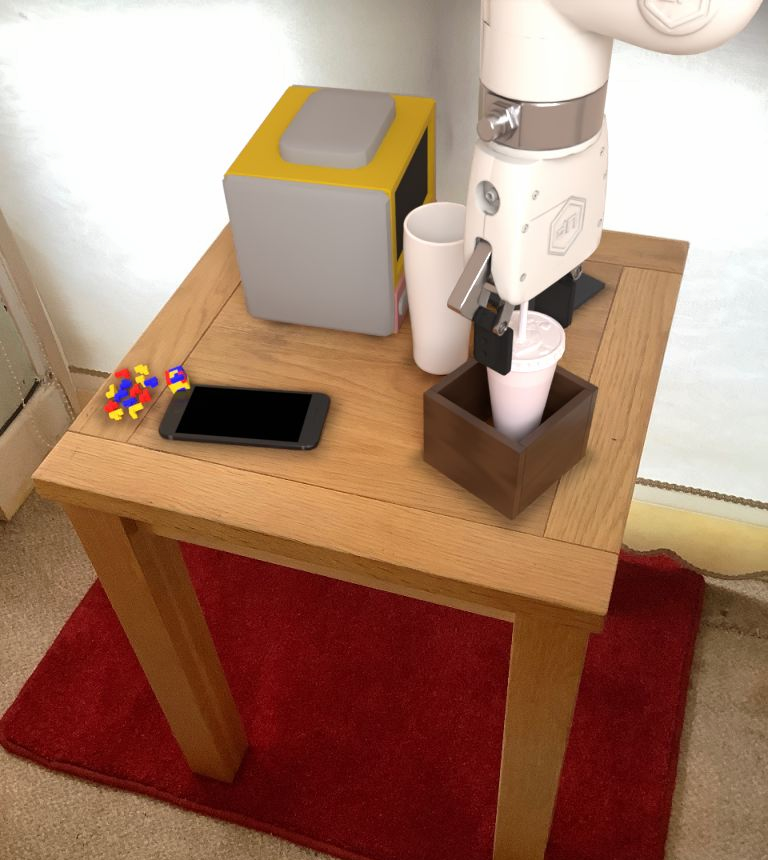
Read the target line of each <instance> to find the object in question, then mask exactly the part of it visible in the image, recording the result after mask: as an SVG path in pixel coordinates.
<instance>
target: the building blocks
mask: <svg viewBox="0 0 768 860" xmlns="http://www.w3.org/2000/svg"><path fill="white" fill-rule="evenodd" d="M149 368H150V367H148V365H144V364H139V365H137V366H135V367H133V369H134V371H135V373H136V374H138V373H139V374H140V375H138V376H136V377H135V382H136V383H135V384H133V383H132V381H131V379H129V378H131V377H132V375H131V372H130V371H129V370H128V368H126V367H125V368H122V369H121V370H118V371H115V372H114V377H115V378H116V379H119V378H121V377H124V378H122V379H121V384H119V389H117V387H116V385H115V384H114V383H112V384H110V385H108V386H109V391H106V392H105V397H106V398H107V399H111V398H113V397H114V398H113V399H114V401H113V400H112V399H111V400H109V401H107V404H106V405H104V406H103V410H104V412H106V413H108V417H109V418H110V419H114V420H115V421H120V420H122V417H123V415H124V414H125V412H124V410H123V408H119V403H120V402H121V401H122V400H121V399H123V398H126V397H129V395H130V398H128V399H125V400H123V401H122V402H121V403H122V407H124V408H128V413H129V415H130V416H131V418H132V419H133V420H136V419H138V418H139V417H138V413H137V412H138V411H140V410H143V409H144V404H145V403H146V402H147V403H149V402H152V400H153V399H152V397H151V395H150V391H149V390H148V388H147V387H149V386H150V388H151V389H154V388H156V387H157V386H159V379H158V377H157V376H153V377H150V378H148V379H146V377H145V376H147V375H149V374H150V369H149ZM164 376H165V383H166V385H167V386H168V388H169V389H170V391H171V393H172V395H174V393H175V392H176V391H179V390H184V389H189V388H190V384H191V383H190V379H189V378H190V377H189V375H188V374H187V373H186V371H185V369H184V368H183V366H182V364H180V365H177V366H175V367H173V368H170V369H168V370H164ZM127 379H128V380H127ZM139 383H140V384H141V385H139ZM132 386H133V387H132ZM141 386H142V387H143V388H145V389H143V388H141ZM130 387H132V388H130ZM129 388H130V389H129ZM127 389H129V391H128V390H127ZM137 395H138V396H139V398H138V399H139V402H137V401H138V400H137V398H136V397H137Z"/></svg>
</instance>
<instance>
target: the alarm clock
mask: <svg viewBox="0 0 768 860" xmlns="http://www.w3.org/2000/svg"><path fill="white" fill-rule="evenodd" d="M221 181H222V189H223V194H224V198H225V204H226V209H227V214H228V220H229V224H230V231H231V235H232V241H233V245H234V250H235V256H236V260H237V266H238V272H239V276H240V277H239V278H240V282H241V287H242V291H243V296H244V301H245V306H246V312H247V314H249V315H250V316H251V317H252V318H253V319H256V320H263V321H271V322H277V323H284V324H285V323H286V324H293V325H299V326H307V327H312V328H313V327H314V328H320V329H327V330H335V331H341V332H349V333H355V334H356V333H357V334H362V335H370V336H375V337H376V336H377V337H383V338H386V337H389V336H390V335H392V334H395V335H396V334H398V333H399V332H400V329H401V327H402V324H403V322H404V320H405V317H406V315H407V311H408V310H409V305H408V297H407V289H406V281H405V273H404V260H403V230H404V220H405V218H406V216H407V215H408V214H409V213H410V212H411V211H413V210H414V209H416V208H418V207H420V206H422V205H425V204H429V203H435V202H438V199H437V102H436V100H435V98H433V97H431V95H426V94H414V93H403V92H389V91H377V90H366V89H355V88H354V89H353V88H340V87H329V86H319V85H307V84H305V85H304V84H292V85H290V86H288V87H287V88H286V90H284V92H283V94H282V95H281V97H279V99H278V101H277V102H276V103H275V104H274V106H273V107H272V108H271V110H270V112H268V114H267V116H266V117H265V118H264V120H263V121H262V122H261V124H260V125H259V126H258V128H257V129H256V130H255V132H254V133H253V135H252V136H251V138H250V139H249V140H248V142H247V143H246V144H245V145H244V147H243V148H242V150H241V151H240V152H239V154H238V155H237V156H236V158H235V159H234V161H233V162H232V163H231V164H230V166H229V167H228V168H227V170H226V172H225V173H224V174H223V179H222V180H221Z"/></svg>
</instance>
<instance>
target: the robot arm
mask: <svg viewBox="0 0 768 860" xmlns="http://www.w3.org/2000/svg"><path fill="white" fill-rule="evenodd" d="M763 1H764V0H480V24H479V26H480V27H479V28H480V29H479V66H478V68H479V69H478V70H479V72H478V73H479V74H478V107H477V108H478V111H477V123H476V133H477V135H478V138H477V140H476V141H475V144H474V149H473V155H472V160H471V163H470V164H471V165H470V171H469V177H468V185H467V192H466V201H465V206H466V210H465V222H464V243H463V261H464V271H463V273H462V275H461V276H460V278H459V280H458V282H457V284H456V286H455V288H454V289H453V291H452V293H451V295H450V297H449V299H448V301H447V307H448V308H449V309H451V310H453V311H454V312H456V313H458V314H459V315H461V316H462V317H464V318H466V319H468V320H470V321H472V323H473V344H472V345H473V348H472V349H473V350H472V357H474V359H475V360H476V361H478V362H479V363H481V364H483V365H485V366H486V367H488V368H490V369H492V370H494V371H495V372H497V373H499V374H501V375H503V376H505V375H507V374H508V373H509V372H510V371H511V365H512V350H513V336H514V332H513V331H514V330H513V329H512V328H510V327H508V325H509V322H510V319H511V316H512V313H513V310H514V307H515V305H519V304H522V303H525V302H527V301H529V300H530V299H532V298H533V297H535V305H534V311H535V312H540V313H543V314H546V315H548V316H550V317H552V318H553V319H555V320H556V321H557V322H558V323H559V324H560V325H561V326H562V328H563V330H565V329H567V328H569V327H570V326H571V325H572V323H573V315H574V311H573V308H574V300H575V292H576V284H577V283H575V282H573V280H577V279H578V278H579V277H580V275H581V273H583V271H584V265H583V262H584V261H585V260H587V259H588V258H589V257H590V256H592V255H593V253H594V252H595V251H596V250H597V249H598V247H599V245H600V243H601V238H602V233H603V228H604V219H605V218H604V217H605V209H606V198H607V187H608V174H609V173H608V172H609V170H608V169H609V132H608V123H607V115H606V113H605V107H606V100H607V92H608V85H609V78H610V71H611V63H612V62H611V61H612V54H613V49H614V48H613V47H614V41H615V40H617V41H620V42H622V43H626V44H629V45H631V46H635V47H637V48H640V49H644V50H647V51H650V52H655V53H659V54H664V55H670V56H692V55H699V54H702V53H706V52H709V51H713V50H715V49H717V48H719V47H721V46H723V45H724V44H727V42H729V41H730V40H732V39H734V38H735V37H736V36H738V34H739V33H741V32H742V30H743V29H744V28H745V27H746V26H747V25H748V24H749V23H750V21H751V20H752V18H753V17H754V16H755V15H756V13H757V11H758V10H759V8H761V7H760V6H761V5H762V3H763ZM490 293H493V294H495V295H497V296H499V297H500V298H501V300H500V303H499V307H497V309H496V312H494V311H492V310H490V309H488V308H487V305H488V299H489V296H490Z"/></svg>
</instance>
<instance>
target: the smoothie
mask: <svg viewBox="0 0 768 860" xmlns="http://www.w3.org/2000/svg"><path fill="white" fill-rule="evenodd" d="M508 327H510V328H512V329H513V330H514V331H513V332H514V336H513V350H512V365H511V371H510V372H509V373H508V374H507V375H505V376H503V375H501V374H499V373H497V372H495V371H494V370H492V369H490V368H488V367H487V373H488V382H489V390H490V398H491V407H492V415H493V416H492V422H493V428H494V429H496V430H497V431H499V432H501V433H502V434H504V435H506V436H507V437H509V438H510V439H512V440H514V441H515V442H517V443H518V444H519V443H520V442H521V441H522V440H523V439H525V438H526V437H527V436H528V435H529V434H531V433H532V432H533V431H534V430H535V429H537V428H538V427H539V426H540V422H541V419H542V415H543V411H544V408H545V404H546V401H547V397H548V393H549V390H550V386H551V383H552V379H553V375H554V372H555V369H556V365H558V361H560V359H561V358H562V357H563V355H564V353H565V351H566V333H565V329H564V328H562V326H561V325H560V324H559V323H558V322H557V321H556V320H555V319H553V318H552V317H550V316H548V315H546V314H543V313H540V312H535V311H529V310H528V301H527V302H525V303H522V304H520V310H515V311H513V313H512V316H511V319H510V322H509V325H508Z"/></svg>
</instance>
